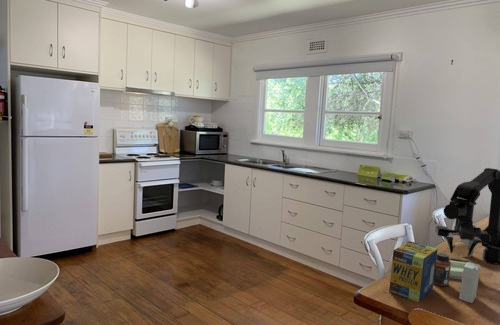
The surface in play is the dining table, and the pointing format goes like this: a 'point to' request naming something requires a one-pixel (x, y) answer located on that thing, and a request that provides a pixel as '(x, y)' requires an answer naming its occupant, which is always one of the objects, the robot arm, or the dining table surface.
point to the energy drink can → (466, 243)
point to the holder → (460, 260)
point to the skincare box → (469, 282)
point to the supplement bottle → (442, 270)
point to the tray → (457, 269)
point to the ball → (460, 249)
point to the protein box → (413, 270)
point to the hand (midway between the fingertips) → (459, 254)
